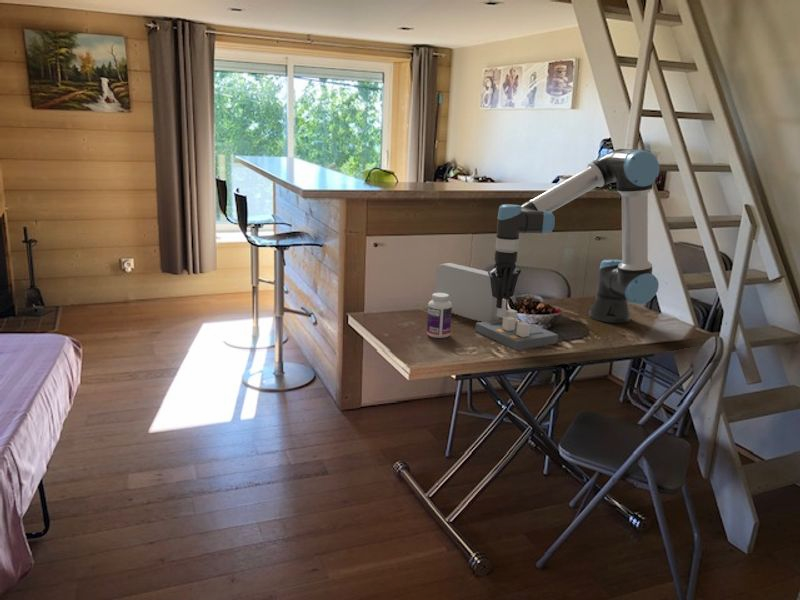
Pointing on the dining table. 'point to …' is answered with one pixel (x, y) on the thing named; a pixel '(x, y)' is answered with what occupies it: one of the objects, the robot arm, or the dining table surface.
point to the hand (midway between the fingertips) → (500, 316)
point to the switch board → (515, 341)
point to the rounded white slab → (467, 291)
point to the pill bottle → (439, 316)
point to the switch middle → (508, 323)
